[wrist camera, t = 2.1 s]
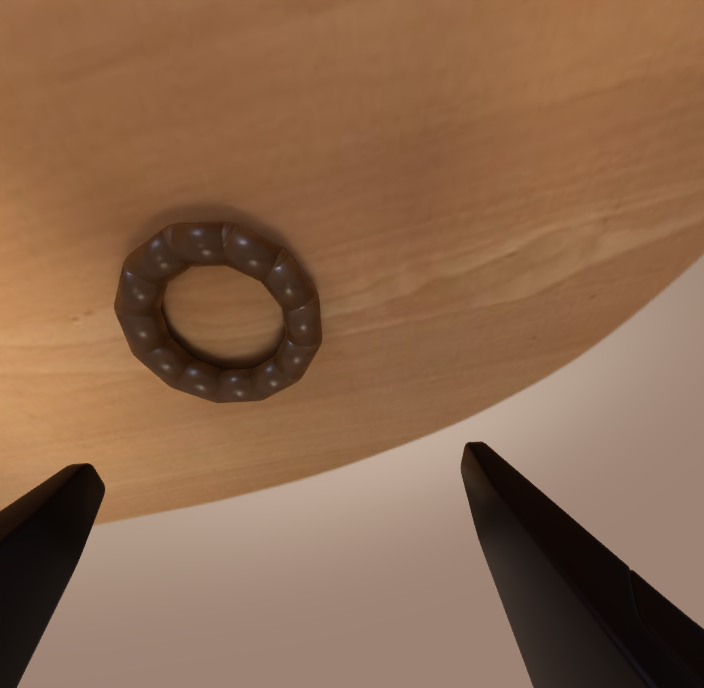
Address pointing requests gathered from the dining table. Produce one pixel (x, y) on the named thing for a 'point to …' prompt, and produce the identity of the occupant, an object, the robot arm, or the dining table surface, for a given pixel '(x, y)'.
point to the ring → (216, 250)
